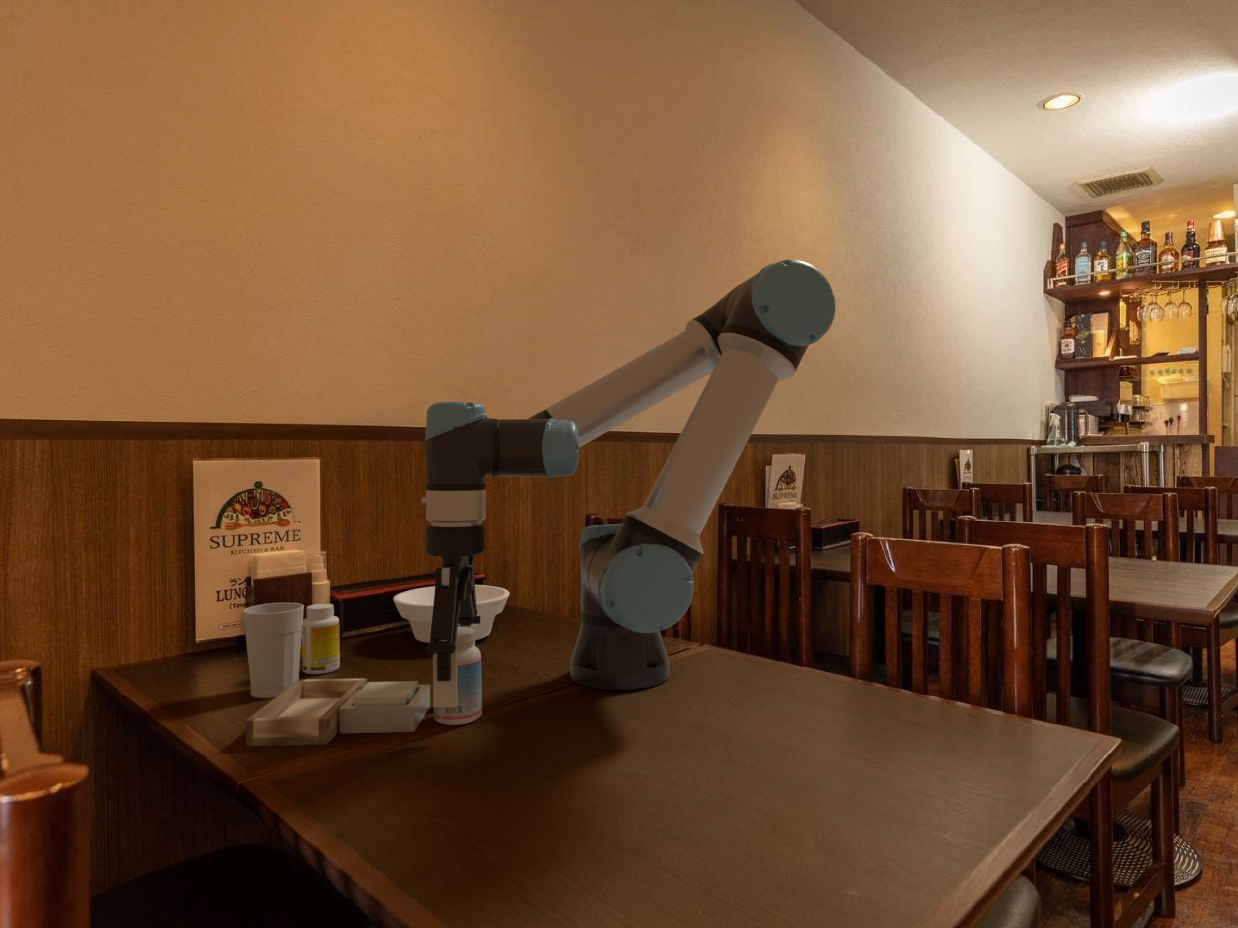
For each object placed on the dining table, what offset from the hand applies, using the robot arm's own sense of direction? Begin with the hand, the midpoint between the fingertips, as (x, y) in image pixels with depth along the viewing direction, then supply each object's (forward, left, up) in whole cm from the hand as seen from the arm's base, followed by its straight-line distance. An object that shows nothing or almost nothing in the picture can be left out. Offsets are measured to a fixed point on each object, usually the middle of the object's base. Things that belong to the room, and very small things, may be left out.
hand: (455, 688), depth 96 cm
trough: (+18, 0, -4) cm, 19 cm away
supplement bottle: (+25, -23, -4) cm, 34 cm away
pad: (+9, 0, -1) cm, 9 cm away
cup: (+28, -13, -4) cm, 31 cm away
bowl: (+8, -43, -4) cm, 44 cm away
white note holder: (+9, 0, -4) cm, 10 cm away
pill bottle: (0, 0, -4) cm, 4 cm away
